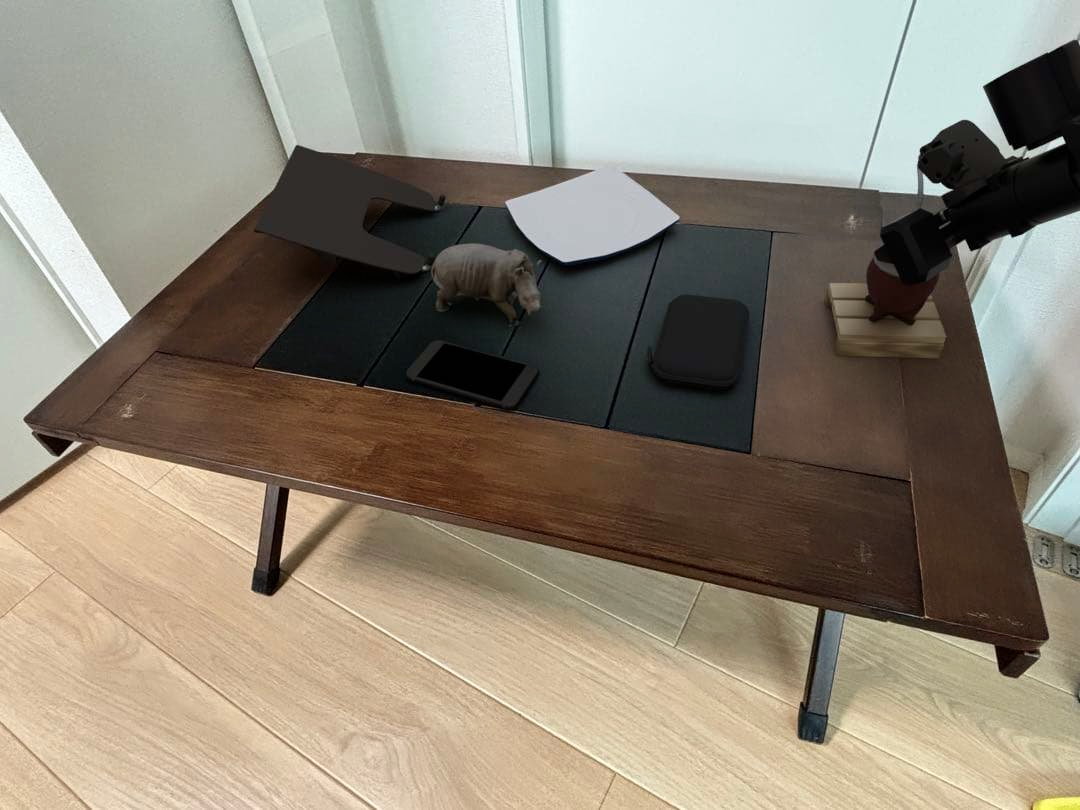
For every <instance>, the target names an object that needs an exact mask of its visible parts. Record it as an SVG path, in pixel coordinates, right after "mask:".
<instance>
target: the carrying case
mask: <svg viewBox="0 0 1080 810" xmlns="http://www.w3.org/2000/svg"><path fill="white" fill-rule="evenodd" d="M749 319H750V310H749V308H748V306H746V304H744V302H742V301H741V300H738V299H734V298H732V299H731V298H724V297H716V296H708V295H707V296H706V295H698V294H697V295H696V294H689V293H687V294H680V295H678V296H676V297H675V298H674V299H671V301H669V302H668V305H667V310H666V312H665V317H664V319H663V323H662V326H661V329H660V332H659V333H660V334H659V336H658V339H657V343H656V345H655V346H656V347H655V349H654V353H653V352H652V347H651V346H650V345H648V346H647V349H646V360H647V361H646V362H647V365H648V367H649V370H650V371H651V372H653V374H654V376H656V378H658V379H659V380H661V381H663V382H665V383H668V384H669V383H670V384H676V385H682V386H689V387H695V388H705V389H712V390H718V391H724V390H728V389H731V388H733V387H734V386H735V385H736V384H737V383H738V382H739V379H740V374H741V368H742V363H743V357H744V350H745V344H746V339H747V332H748V326H749V321H750V320H749Z"/></svg>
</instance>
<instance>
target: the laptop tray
mask: <svg viewBox="0 0 1080 810" xmlns="http://www.w3.org/2000/svg"><path fill="white" fill-rule="evenodd" d="M446 198H447V196H446V194H443V193H442V194H441V193H440V195H439V198H438V201H437V205H436V200H435V198H434V196H433V195H432V194H431V193H430V192H427V191H426V190H423V189H421V188H419V187H417V186H414V185H411V184H409V183H407V182H405V181H402V180H400V179H397V178H394V177H391V176H389V175H387V174H384V173H381V172H378V171H376V170H372V169H370V168H367V167H365V166H363V165H360V164H356V163H353V162H350V161H348V160H345V159H343V158H339V157H336V156H332V155H330V154H326V153H324V152H321V151H318V150H315V149H312V148H308V147H305V146H302V145H300V144H296V145H295V146H294V148H293V150H292V152H291V154H290V156H289V158H288V160H287V162H286V164H285V166H284V169H283V170H282V172H281V175H280V176H279V178H278V180H277V182H276V185H275V186H274V189H273V190H272V193H271V194H270V196H269V198H268V201H267V202H266V204H265V206H264V209H263V210H262V212H261V214H260V216H259V219H258V221H256V225H255V226H254V228H253V232H254V233H256V234H263V235H267V236H270V237H274V238H276V239H279V240H282V241H285V242H289V243H292V244H295V245H298V246H301V247H302V248H305V249H306V250H309V251H310V252H312V253H313V254H314V255H316V256H317V257H319V258H320V259H321V260H323V261H324V262H326V263H327V264H329V265H330V266H334V265H335V264H336V257H337V258H342V259H344V260H348V261H352V262H356V263H360V264H363V265H367V266H370V267H375V268H378V269H382V270H385V271H386V270H387V271H391V273H392V274H394V275H395V276H396V277H397V279H402V278H405V279H408V277H409V275H417V274H419V273H420V272H429V271H431V269H432V266H433V264H434V262H435V260H436V258H437V256H436V254H434V253H429V254H428V257H427V260H426V258H425V257H424V256H423V255H421V254H419V253H417V252H415V251H412V250H410V249H409V248H408V249H407V248H405V247H403V246H401V245H398V244H396V243H394V242H391V241H389V240H385V239H383V238H381V237H378V236H375V235H373V234H371V233H368V232H367V231H366V230H365V229H364V226H363V224H364V219H365V216H366V214H367V211H368V207H369V205H370V202H372V201H373V200H380V201H381V200H382V201H385V202H389V203H392V204H396V205H399V206H404V207H408V208H412V209H417V210H421V211H425V212H431V213H432V212H440V211H441V210H442V209H443V207H444V204H445V202H446ZM425 262H426V263H425Z"/></svg>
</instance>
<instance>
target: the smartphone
mask: <svg viewBox="0 0 1080 810" xmlns="http://www.w3.org/2000/svg"><path fill="white" fill-rule="evenodd" d="M539 375H540V369H539V367H538V366H537V365H535V364H532V363H528V362H524V361H520V360H517V359H513V358H510V357H505V356H502V355H498V354H495V353H491V352H486V351H482V350H479V349H475V348H472V347H468V346H464V345H460V344H456V343H453V342H449V341H445V340H441V339H437V340H433V341H431V342H430V343H429V344H428V345H427V346H426V347H425V349H424V350H423V351H422V352H421V353H420V354H419V355H418V357H417V358H416V359H415V360H414V361H413V362H412V363H411V365H410V366H409V367H408V368H407V370H406V371H405V377H406V379H407V380H408V381H411V382H413V383H417V384H420V385H423V386H426V387H430V388H434V389H437V390H440V391H443V392H447V393H450V394H454V395H457V396H460V397H464V398H467V399H470V400H473V401H477V402H480V403H485V404H488V405H491V406H495V407H499V408H502V409H506V410H513V409H515V408H517V407H518V406H519V404H520V403H521V401H522V400H523V399H524V397H525V396H526V394H527V393H528V391H529V390H530V388H531V387H532V385H533V383H535V381H536V380H537V378H538V376H539Z"/></svg>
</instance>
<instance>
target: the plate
mask: <svg viewBox="0 0 1080 810" xmlns="http://www.w3.org/2000/svg"><path fill="white" fill-rule="evenodd" d="M504 205H505V207H506V210H507V211H508V213H509V215H510V217H511V218H512V221H513V222H514V224H515V226H516V227H517V229H518V230H519V231H520V233H521V234H522V235H523V237H524V238H525V239H526V240H527V241H528V242H529V243H531V245H533V246H534V248H536V249H537V250H538V251H539V252H540V253H542V254H543V255H546V256H547V257H549V258H550V259H552V260H553V261H556V262H558V263H559V264H561V265H563V266H566V267H570V266H571V267H572V266H575V265H580V264H586V263H591V262H597V261H600V260H605V259H609V258H611V257H614V256H616V255H619V254H622V253H625V252H628V251H630V250H633V249H634V248H637V247H639V246H642V245H645V244H647V243H649V242H650V241H652V240H653V239H655V238H656V237H658V236H660V235H661V234H663V233H664V232H666V231H667V230H669V229H671V228H672V227H673V226H675V225H676V224H678V223H679V222H680V220H681V216H680V215H678V214H677V213H676V212H675V211H673V210H672V209H671V208H670V207H668V206H667V205H666V204H665V203H663V202H662V201H661V200H660V199H659V198H658V197H656V196H655V195H654V194H652V192H650V191H648V189H646V188H645V187H643V186H642V185H641V184H639V183H638V182H636V181H635V180H634V179H632V178H631V177H630V176H628V174H626V173H625V172H623V171H622V170H620V169H619V168H617V166H615V165H614V164H608V165H606V166H603V167H601V168H597V169H596V170H593V171H590V172H588V173H585V174H581V175H579V176H576V177H573V178H571V179H568V180H566V181H563V182H559V183H557V184H555V185H551V186H548V187H545V188H542V189H540V190H537V191H533V192H530V193H526V194H524V195H521V196H518V197H515V198H511V199H508V200H506V201H505V202H504Z"/></svg>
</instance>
